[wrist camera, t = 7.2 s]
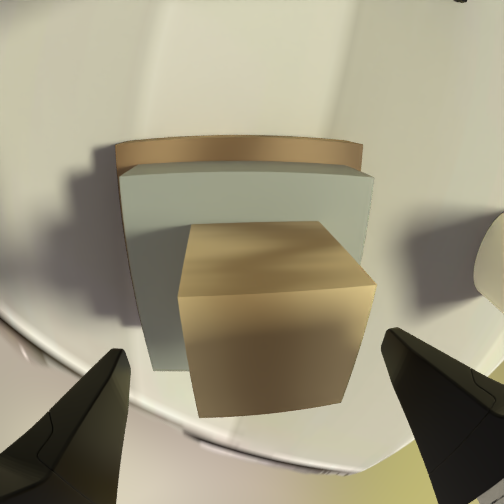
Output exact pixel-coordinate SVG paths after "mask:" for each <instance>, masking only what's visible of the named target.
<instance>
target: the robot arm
mask: <svg viewBox="0 0 504 504" xmlns="http://www.w3.org/2000/svg"><path fill="white" fill-rule="evenodd" d="M457 1H459V2H461V3H464V2H467V0H457ZM381 352H382V355H383V358H384V361H385V364H386V367H387V370H388V373H389V376H390V379H391V382H392V385H393V388H394V390H395V392H396V395H397V397H398V399H399V401H400V404H401V406H402V408H403V411H404V413H405V416H406V418H407V420H408V423H409V425H410V428H411V430H412V433H413V435H414V438H415V440H416V443H417V445H418V448H419V450H420V453H421V456H422V458H423V461H424V463H425V466H426V469H427V471H428V474H429V477H430V480H431V483H432V486H433V489H434V492H435V495H436V498H437V501H438V504H468V503H470V502H471V501H473V500H474V499H476V498H477V499H478V501H479V503H480V504H504V385H503V384H501V383H499V382H497V381H495V380H493V379H490V378H488V377H486V376H485V375H483V374H481V373H479V372H477V371H475V370H474V369H472V368H471V369H470V367H468V366H466V365H465V364H463V363H461V362H459V361H458V360H456V359H454V358H452V357H450V356H449V355H447V354H445V353H443V352H441V351H440V350H438V349H436V348H434V347H432V346H431V345H429V344H427V343H425V342H423V341H422V340H420V339H418V338H416V337H415V336H413V335H411V334H409V333H407V332H406V331H404V330H402V329H400V328H398V327H395V328H390V329H388V330H387V331H386V333H385V336H384V339H383V342H382V345H381ZM130 375H131V368H130V364H129V362H128V359H127V356H126V353H125V351H124V350H123V349H116V348H113V349H111V350H110V351H109V352H108V353H107V354H106V355H104V356H103V357H102V358H101V359H100V360H99V361H98V362H97V363H96V364H95V365H94V366H93V367H92V368H91V369H90V370H89V371H88V372H87V373H86V374H85V375H84V376H83V377H82V378H81V379H80V380H79V381H78V382H77V383H76V384H75V385H74V386H73V387H72V388H71V389H70V390H69V391H68V392H67V393H66V394H65V395H64V396H63V397H62V398H61V399H60V400H59V401H58V402H57V403H56V404H55V405H54V406H53V407H52V408H51V409H50V410H49V412H47V413H46V414H45V415H44V416H43V417H42V418H41V419H40V420H39V421H38V422H37V423H36V424H35V425H34V426H33V427H32V428H30V429H29V430H28V431H27V432H26V433H25V434H24V435H22V436H21V437H20V438H19V439H18V440H16V441H15V442H14V443H13V444H12V445H10V446H9V447H8V448H7V449H6V450H4V451H3V452H2V453H0V504H116V499H117V488H118V478H119V470H120V462H121V455H122V447H123V441H124V434H125V427H126V422H127V415H128V406H129V389H130Z"/></svg>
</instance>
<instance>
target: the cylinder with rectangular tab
mask: <svg viewBox="0 0 504 504" xmlns="http://www.w3.org/2000/svg"><path fill="white" fill-rule="evenodd" d="M473 278H474V285H475V287H476V289H477V290H478V291H479V292H480V293H481V294H482V295H483V296H484V297H485V298H487V299H488V300H489V301H490V302H491V303H492V304H493V305H494V306H495V307H496V308H498V309H499V310H500V311H501V312H502V313H503V314H504V213H502V214H500V216H499V217H498V218H497V219H496V220H495V221H494V222H493V223H492V225H491V226H490V228H489V229H488V231H487V233H486V235H485V237H484V238H483V240H482V242H481V245H480V248H479V250H478V253H477V256H476V261H475V265H474V275H473Z"/></svg>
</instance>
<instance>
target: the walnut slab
mask: <svg viewBox="0 0 504 504" xmlns="http://www.w3.org/2000/svg"><path fill="white" fill-rule="evenodd" d="M115 151H116V166H117V178H118V189H119V199H120V208H121V216H122V224H123V231H124V238H125V244H126V251H127V257H128V262H129V256H128V250H127V243H126V236H125V228H124V220H123V212H122V202H121V192H120V181H119V176H121V175H123V174H124V173H126V172H127V171H129V170H130V169H132V168H133V167H135V166H137V165H138V164H152V163H170V162H194V161H279V162H304V163H322V164H336V165H346V166H349V167H351V168H353V169H356V170H358V171H361V163H362V151H363V144H358V143H354V142H350V141H345V140H334V139H323V138H309V137H292V136H266V135H211V136H185V137H168V138H154V139H143V140H132V141H126V142H123V143H119V144H116V145H115ZM129 268H130V263H129ZM130 274H131V269H130ZM131 279H132V274H131ZM132 284H133V280H132ZM133 289H134V285H133ZM134 294H135V291H134ZM135 299H136V296H135ZM136 303H137V301H136ZM137 308H138V306H137ZM138 312H139V310H138ZM139 317H140V315H139ZM140 321H141V319H140ZM141 325H142V324H141ZM142 329H143V328H142Z"/></svg>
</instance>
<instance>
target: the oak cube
mask: <svg viewBox="0 0 504 504" xmlns="http://www.w3.org/2000/svg"><path fill="white" fill-rule="evenodd" d="M376 287H377V284H376V283H375V282H374V281H373V280H372V279H371V277H370V276H369V275H368V274H367V273H366V272H365V271H364V269H363V268H362V267H361V266H360V265H359V264H358V263H357V262H356V261H355V259H354V258H353V257H352V256H351V255H350V254H349V253H348V252H347V251H346V250H345V249H344V247H343V246H342V245H341V244H340V243H339V242H338V241H337V240H336V239H335V238H334V237H333V236H332V235H331V233H330V232H329V231H328V230H327V229H326V228H325V227H324V226H323V225H322V224H321V223H320V222H319V221H287V222H244V223H213V224H191V229H190V234H189V238H188V243H187V248H186V253H185V259H184V264H183V269H182V275H181V280H180V286H179V291H178V304H179V311H180V318H181V324H182V331H183V337H184V343H185V349H186V355H187V360H188V366H189V371H190V376H191V382H192V387H193V392H194V397H195V401H196V406H197V411H198V415H199V418H213V417H234V416H248V415H260V414H270V413H279V412H287V411H294V410H301V409H308V408H314V407H320V406H326V405H331V404H336V403H341V401H342V399H343V396H344V393H345V390H346V388H347V385H348V382H349V379H350V376H351V373H352V370H353V367H354V364H355V361H356V358H357V355H358V352H359V349H360V346H361V342H362V339H363V336H364V332H365V329H366V325H367V322H368V318H369V314H370V310H371V307H372V303H373V299H374V295H375V291H376Z"/></svg>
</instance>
